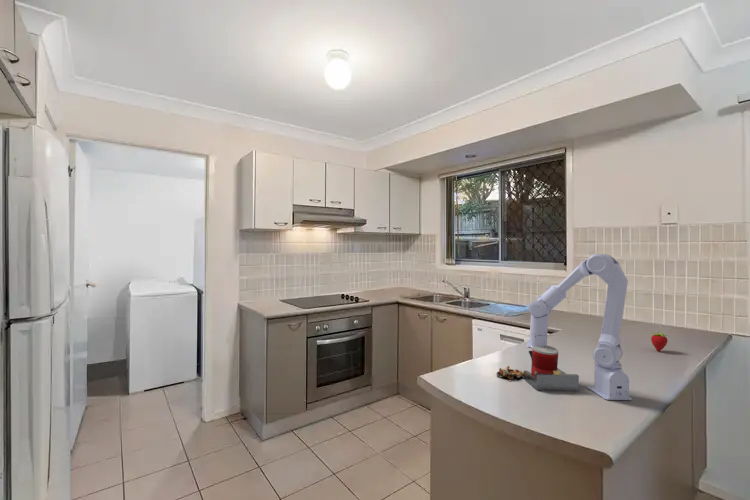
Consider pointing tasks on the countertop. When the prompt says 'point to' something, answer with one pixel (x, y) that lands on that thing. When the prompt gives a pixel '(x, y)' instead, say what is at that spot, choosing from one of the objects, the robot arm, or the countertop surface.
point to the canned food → (544, 360)
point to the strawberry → (659, 341)
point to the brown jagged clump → (510, 373)
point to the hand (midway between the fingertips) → (536, 371)
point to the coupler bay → (553, 381)
